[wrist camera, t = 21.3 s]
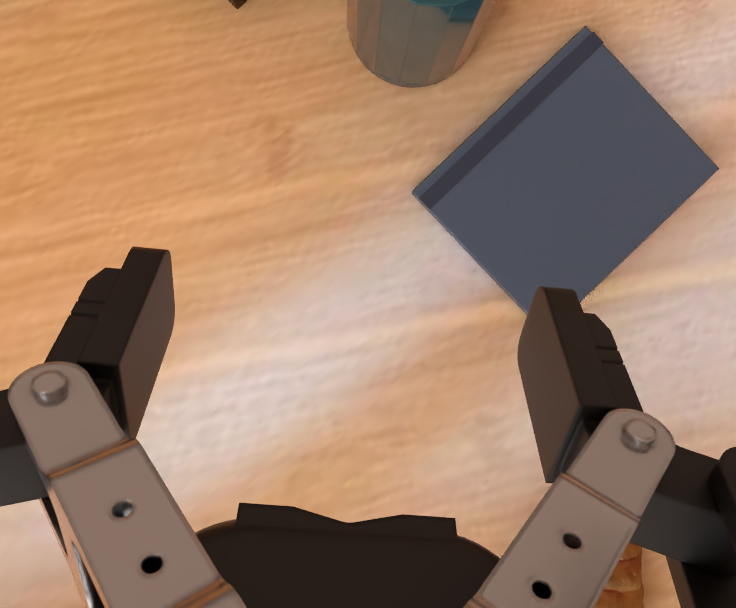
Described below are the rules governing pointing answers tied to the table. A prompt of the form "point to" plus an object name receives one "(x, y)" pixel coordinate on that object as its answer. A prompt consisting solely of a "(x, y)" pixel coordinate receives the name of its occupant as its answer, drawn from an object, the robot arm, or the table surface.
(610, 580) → the pastry
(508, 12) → the table surface
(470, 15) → the dark teal cup
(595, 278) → the grey notebook
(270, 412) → the table surface
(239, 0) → the stove
